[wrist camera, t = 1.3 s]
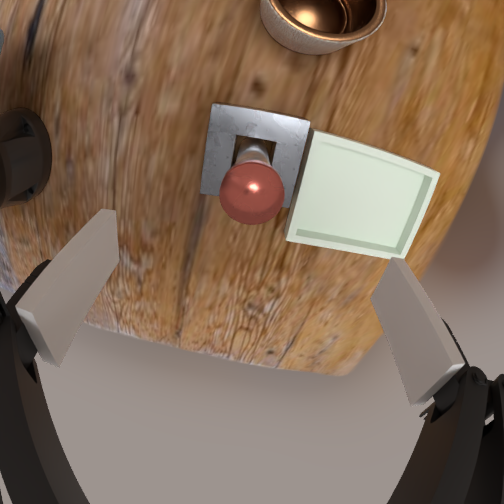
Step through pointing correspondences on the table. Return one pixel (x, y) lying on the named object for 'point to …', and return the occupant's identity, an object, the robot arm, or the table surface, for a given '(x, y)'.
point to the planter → (321, 23)
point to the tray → (358, 197)
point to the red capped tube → (252, 185)
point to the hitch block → (258, 126)
